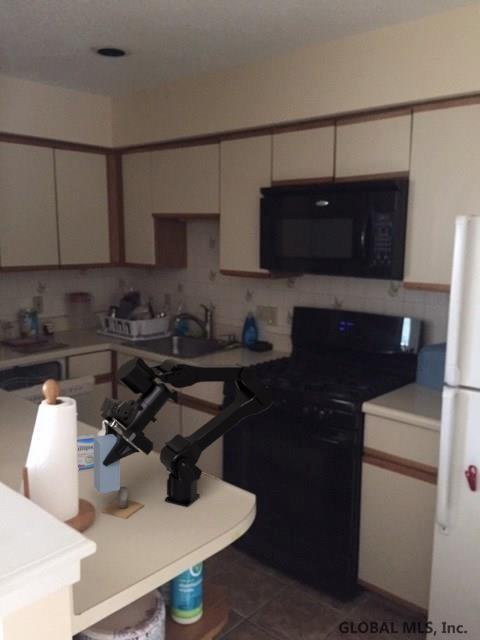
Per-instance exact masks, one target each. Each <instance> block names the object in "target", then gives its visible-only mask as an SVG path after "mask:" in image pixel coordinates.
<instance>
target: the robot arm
mask: <svg viewBox="0 0 480 640" xmlns="http://www.w3.org/2000/svg"><path fill="white" fill-rule="evenodd" d="M115 377H116V379H117V381H119V382H120V383H121V384H122V385H123V386H125V387H126V388H127V389H128V390H129V391H130V392H131V393H132V394H134V395H138V394H139V396H138V397H137V398H136V399H135V400H134V399H133V398H132V399H129V400H128V402H127V401H124V400H122V399H120V400H118V399H114V398H111V397H109V396H106V397H104V400H103V403H102V404H101V407H100V411H101V412H102V414H100V416H101V417H102V418H103V419H104V420H107V421H108V423H106V422H104V424H105V429H106V433H105V435H109V434H113V435H114V436H115V437H117V441H116V443H115V445H114V446H113V448H112V449H111V451H110V452H109V454H108V455H107V456H106V458H105V460H104V461H103V464H104V465H105V466H108V465H110V464H112V463H114V462H116V461H118V460H120V461H121V459H124V458H127V457H128V456H131V455H134V454H135V453H137V454H138V453H140V451H141V452H142V453H144V454H145V456H148V455H149V454H150V453H151V452H152V450H154V442H153V441H151V439H149V438H148V437H147V436H146V435H145V433H144V432H143V431H144V430H145V429H146V427H147V426H148V425H149V424H150V423H151V422H152V423H155V422H157V420H158V419H157V418H156V416H157V414H158V413H159V412H161V410H162V408H163V407H164V406H165V405H166V404H167V402H169V400H170V401H171V402H173V403H175V404H178V403H179V399H178V392H179V391H177V390H176V389H183V388H187V387H192V386H194V385H196V384H198V383H199V384H200V383H206V382H207V383H211V382H213V383H214V382H215V383H217V382H219V383H220V382H221V383H222V382H235V385H236V387H237V388H238V390H239V391H238V392H237V394H236V396H235V398H234V400H233V402H231V403H230V404H229V405H227V406H226V407H225V408H224V409H223V410H221V411H220V412H218V413H217V414H216V415H215V416H214V417H212V418H211V419H210V420H208V421H207V422H205V424H203V425H202V426H201V427H200V428H198V429H197V430H195V431H194V432H193V433H191V434H190V435H188V436H182V434H180V433H178V434H176V435H174V437H173V438H171V439H170V440H169V441H166V442H164V444H165V445H164V446H163V447H162V448H161V450H160V454H159V461H160V463H161V464H162V465H163V466H164V467H165V468H166V470H167V472H169V474H168V478H166V479H167V480H166V495H167V497H165V498H164V502H168V503H170V504H175V505H179V506H183V507H189V506H190V505H192V504H193V503H195V501H197V500H198V499H199V498H200V497H201V494H200V493H198V481H199V480H200V479H201V476H202V474H203V470H202V469H200V468H199V467H198V466H197V463H198V461H199V459H200V457H201V455H202V453H203V452H204V451H205V450H206V449H207V448H208V447H210V446H211V445H212V444H214V443H215V442H216V441H217V440H219V439H220V438H221V437H223V436H224V435H225V434H226V433H227V432H228V431H230V430H231V429H232V428H234V427H235V426H237V425H238V424H239V423H240V422H241V421H242V420H244V419H245V418H247V417H250V416H254V415H257V414H261V413H262V412H263V411H265V410H268V409H269V408H270V407H271V406H272V405H273V403H274V401H273V400H274V393H273V391H272V389H271V388H269V387H268V386H266V384H265V383H264V382H262V380H260V378H259V377H257V376H256V375H255V373H254V372H253V370H252V369H251V368H250V367H249V366H247V365H244V364H242V363H235V364H233V363H230V364H229V363H228V364H227V363H226V364H225V363H224V364H223V363H222V364H220V363H219V364H214V363H211V364H210V363H209V364H207V363H206V364H205V363H204V364H202V363H201V364H199V363H191V362H187V361H184V360H180V359H176V358H175V359H174V358H168V359H165V360H164V361H163V362H161V364H157V365H153V366H149V365H148V364H147V363H146V362H145V360H144V359H143V358H142V357H140V356H139V355H135V356H134V357H133V358H132V359H129V360H128V361H126V362H125V363H123V364H122V365H120V367H119V368H118V370H117V372H116V374H115ZM155 380H157V381H160V382H159V383H158V382H157V381H155ZM166 384H168V385H170V386H172V387H173V388H172V389H171V388H169V387H168V386H167V385H166ZM174 388H176V389H174ZM122 434H123V435H122Z"/></svg>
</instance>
